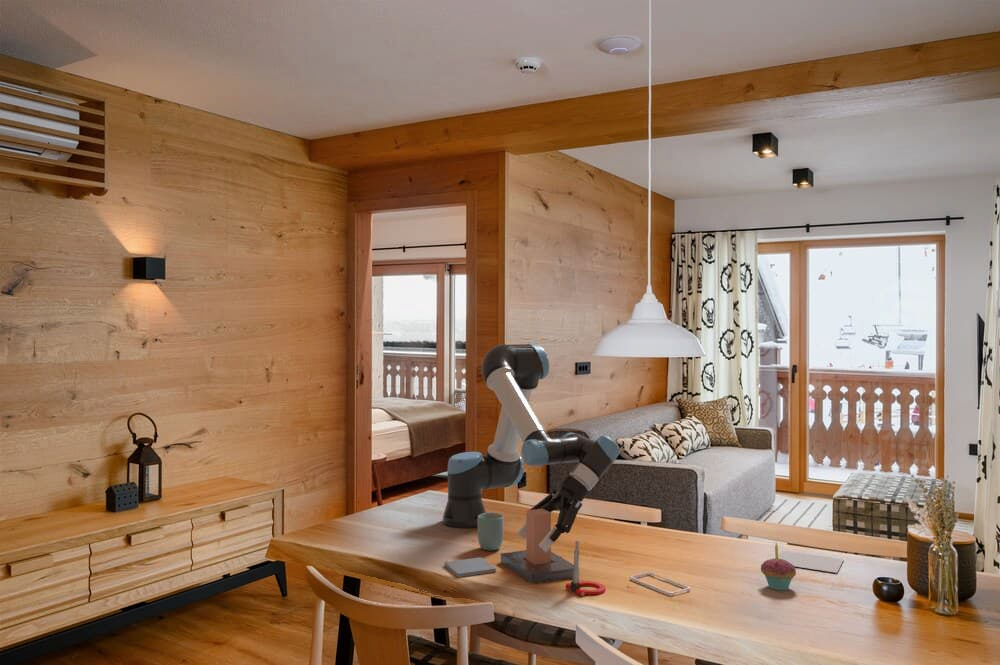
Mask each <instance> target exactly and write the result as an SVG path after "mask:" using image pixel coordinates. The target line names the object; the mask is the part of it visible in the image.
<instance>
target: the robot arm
mask: <svg viewBox="0 0 1000 665" xmlns="http://www.w3.org/2000/svg"><path fill="white" fill-rule="evenodd" d="M549 372H550V362H549V357H548V354H547V352H546V350H545V349H544V347H542V346H541V345H539V344H535V343H532V344H531V343H526V344H525V343H523V344H522V343H520V344H519V343H518V344H511V343H509V344H506V343H505V344H503V343H501V344H498V345H495V346H493V347H492V348H490V349H489V350H488V351H487V352H486V353H485V355H484V357H483V359H482V362H481V373H482V374H481V375H482V378H483V381H484V383H485V384H486V386H487V387H488V389H489V390H492V391H493V392H494V394H495V396H496V397H497V399H498V401H499V402H500V405H501V409H500V413H499V418H498V422H497V426H496V430H495V434H494V439H493V442H492V443H491V444H489V445H488V447H487V449H486V450H487V451H486V454H483V455H482V453H481V452H480V451H469V452H468V451H465V452H460V453H457V454H453V455H452V456H450V457H449V459H448V462H447V471H446V472H447V502H446V505H445V508H444V511H443V514H442V515H443V516H442V524H443V525H445V526H448V527H453V528H460V529H461V528H463V529H464V528H466V529H467V528H477V518H478V515H480V514H483V513H487V511H486V508H485V506H484V502H483V495H482V494H483V490H484V491H485V490H489V489H490V490H492V489H498V488H509V487H513V486H516V485H517V484H518V483H519V482H520V481H521V480H522V478H523V475H524V472H525V471H524V469H525V467H524V463H525V464H526V465H527V466H530V467H538V466H539V467H543V466H546V465H547V466H548V465H556V464H566V463H568V464H569V463H576V462H577V464H576V465H575V466H574V467H572V470H570V472H569V475H567V476H566V477H565V478H564V480H563V481H562V482H561V483H560V487H561V490H560V491H558V490H557V489H555V488H554V489H553V490H552V491H551V492H550V493H549V494H548V495H547V496H546V497H544V498H543V499H541V500H540V501H539V502H538V503H536V504H535V505H534V506H532V507H531V508H530V509H529V510H534V509H544V510H546V511H548V512H550V513H552V512H554V511H559V513H558V517H557V521H556V524H554V526H553V527H551V530H550V532H549V533H548V534H547V535H546V537H545V538H544V539H543V540H542V542H541V543H540V544H539V545H538V546H539V547H540V548H541V549H542V550H543V551H544V552H547V551H548V549H549V548H550V547H551V548H552V546H553V545H554V543H555V542H556V541H557V539H558V538H559V537H561V535H562V534H564V533H566V534H568V533H570V531H571V530H572V528H573V524H574V522H575V520H576V518H577V515H578V513H579V512H580V509H581V508H582V506H583V503H582V502H583V501H584V499H585V498H586V497H587V495H589V491H591V490H592V489H593V488H594V487H595V486H596V484H597V483H598V481H599V480H601V478H602V476H603V475H605V473H606V472H607V470H608V469H609V468H610V467H611V466H612V465H613V464H614V463H615V461H616V460H617V458H618V456H619V455H620V454H621V447H620V446H619V445H618V443H617V442H615V440H614V439H612V438H610V437H609V436H608V435H605V434H602V435H600V436H599V437H597V438H596V440H593V439H590V438H588V437H586V436H583V435H582V434H580V433H575V432H567V433H565V434H564V435H562V436H561V437H558V436H557V437H550V435H549V434H548V432H547V430H546V429H545V427H544V425H543V423H542V422H541V421H540V419H539V417H538V415H537V413H535V410H534V409H533V407H532V405H531V404H530V399H531V394H532V391H533V390H534V391H535V390H536V389H537V388H538V385H539V381H540V380H543V379H545V378H546V377H547V376H548V374H549ZM520 439H521V441H522V442H523V444H522V446H521V453H520V451H519V450H518V448H519V444H520ZM516 533H517V535H518V536H520V537H521V538H522V540H525V539H526V521H525V522H524V524H523V525H522V526H521V527H520V528H519V530H518V531H517V532H516Z"/></svg>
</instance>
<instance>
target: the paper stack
mask: <svg viewBox="0 0 1000 665" xmlns="http://www.w3.org/2000/svg"><path fill="white" fill-rule="evenodd" d="M778 558H779V559H783V560H786V561H787V562H789V563H791V564H792V565H793V566H794V567H795V568H796V567H797V568H802V569H803V568H804V569H809V570H816V571H823V572H828V573H835V574H837V573H838V572H839V570H840V568H841V566H842V564H843V563H844V560H845V559H844V558H838V557H832V556H831V557H829V556H823V555H816V554H810V553H801V552H795V551H788V550H781V552H780V553H778Z"/></svg>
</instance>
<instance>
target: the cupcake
mask: <svg viewBox="0 0 1000 665" xmlns="http://www.w3.org/2000/svg"><path fill="white" fill-rule="evenodd" d="M778 547H779V545H778V544H777V542H775V545H774V552H775V554H774V555H775V557H774V558H771V559H767V560H764V562H762V564H761V565H760V571H761V572H762V574H763V575H764V576H765V579H766V581H767V585H768V588H770V589H771V590H775V591H787V590H789V588H790V585H791V581H792V580H793V578H795V576H796V575H797V569H796V567H795V566H793V565H792V564H791V563H789V562H787V561H786V560H783V559H779V558H778V555H779V548H778Z"/></svg>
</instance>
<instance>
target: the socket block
mask: <svg viewBox="0 0 1000 665" xmlns="http://www.w3.org/2000/svg"><path fill="white" fill-rule="evenodd" d="M501 562H502V564H503V565H504V566H505V565H506V567H507V568H508V567H509V568H508V569H510V570H511V569H512V570H513V572H514V573H515V572H516V573H515V574H517V575H518V576H519V575H520V577H521V578H522V577H523V578H522V579H523V580H525V579H526V580H527V582H528V581H529V582H530V583H529V582H528V583H529V584H531V583H535V584H540V583H539V582H542V583H547V582H546V581H548V582H555V581H560V580H561V581H562V580H567V579H572V576H573V572H574V563H572V562H571V561H569V560H567V559H565V558H563V557H562V556H560V555H559V554H557V553H555V552H553V551H551V563H547V564H540V565H531V564H530V563H528V562H526V550H525V549H524V550H517V551H510V552H509V551H508V552H502V553H500V563H501ZM512 570H511V571H512ZM578 572H579V573H580V566H579V567H578ZM526 580H525V581H526ZM554 580H555V581H554Z"/></svg>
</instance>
